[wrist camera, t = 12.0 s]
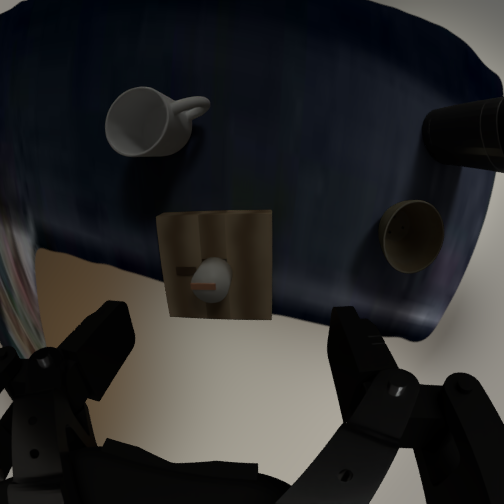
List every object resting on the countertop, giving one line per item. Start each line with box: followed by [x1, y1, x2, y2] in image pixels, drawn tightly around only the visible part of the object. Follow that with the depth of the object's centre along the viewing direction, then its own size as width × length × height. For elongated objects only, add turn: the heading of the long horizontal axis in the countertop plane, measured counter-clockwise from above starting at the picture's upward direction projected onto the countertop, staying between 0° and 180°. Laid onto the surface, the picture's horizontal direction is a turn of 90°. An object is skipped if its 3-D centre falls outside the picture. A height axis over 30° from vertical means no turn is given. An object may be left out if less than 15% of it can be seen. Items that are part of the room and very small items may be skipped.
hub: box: [156, 210, 272, 320], centre depth 40 cm, size 16×16×3 cm
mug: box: [105, 87, 210, 157], centre depth 31 cm, size 12×8×10 cm
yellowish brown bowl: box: [378, 200, 444, 273], centre depth 35 cm, size 10×10×7 cm
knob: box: [190, 257, 233, 303], centre depth 38 cm, size 5×5×8 cm
